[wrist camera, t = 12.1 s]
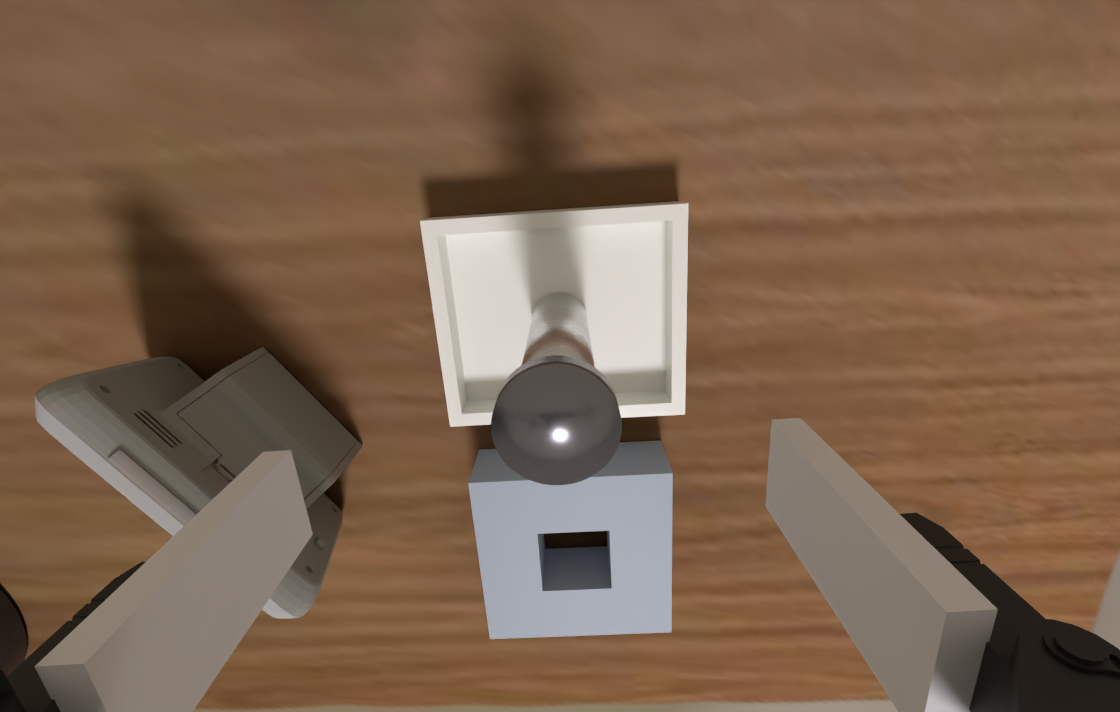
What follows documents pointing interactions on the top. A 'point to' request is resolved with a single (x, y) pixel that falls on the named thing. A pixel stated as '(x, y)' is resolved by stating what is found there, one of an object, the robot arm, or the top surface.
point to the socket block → (576, 573)
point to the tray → (562, 266)
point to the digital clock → (204, 444)
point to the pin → (557, 401)
